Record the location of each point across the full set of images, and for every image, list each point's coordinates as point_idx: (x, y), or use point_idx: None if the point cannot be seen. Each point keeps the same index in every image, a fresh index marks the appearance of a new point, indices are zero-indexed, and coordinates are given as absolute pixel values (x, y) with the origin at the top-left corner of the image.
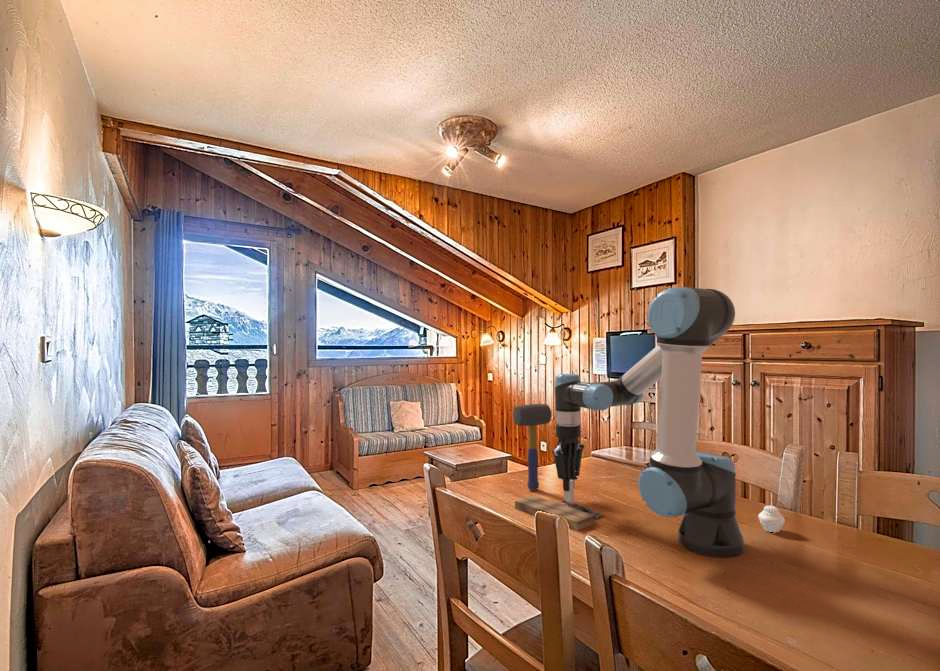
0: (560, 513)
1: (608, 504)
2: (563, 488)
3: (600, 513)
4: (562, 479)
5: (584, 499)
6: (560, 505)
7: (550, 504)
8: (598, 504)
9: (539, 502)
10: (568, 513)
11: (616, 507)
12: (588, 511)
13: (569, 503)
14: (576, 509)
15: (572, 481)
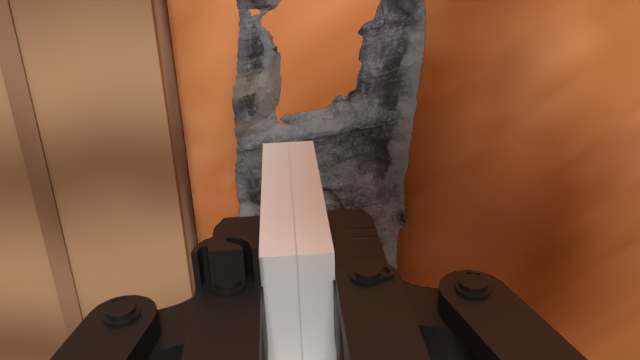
0: (8, 322)
1: (627, 253)
2: (215, 235)
3: None
4: (183, 305)
5: (621, 52)
6: (150, 192)
7: (83, 114)
8: (577, 209)
9: (6, 1)
10: None
11: (601, 321)
12: None
13: (397, 68)
14: None
15: (306, 355)
